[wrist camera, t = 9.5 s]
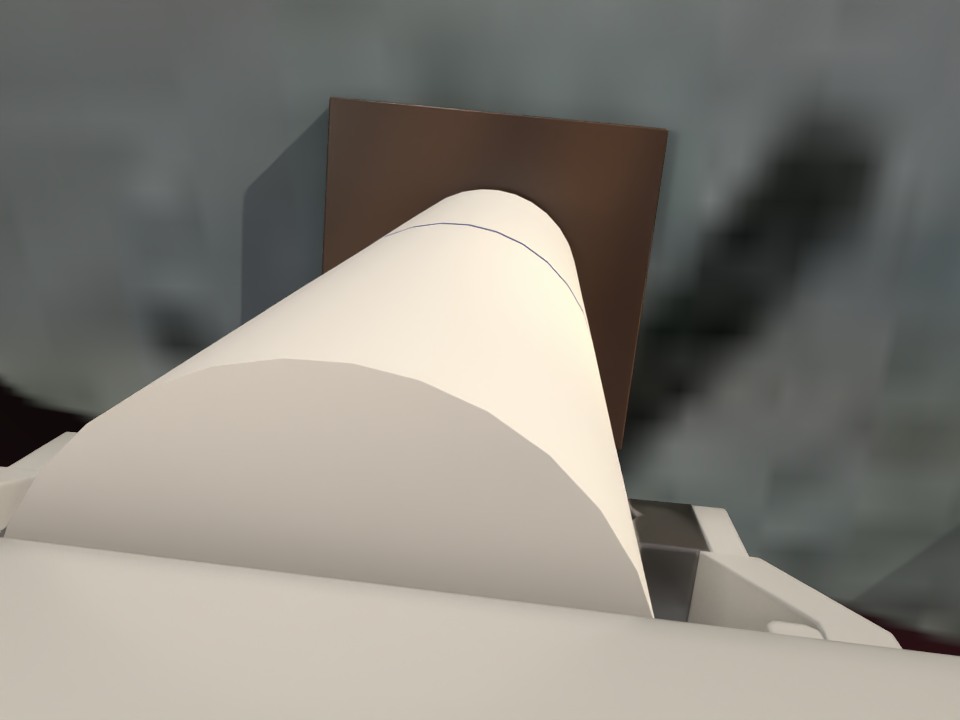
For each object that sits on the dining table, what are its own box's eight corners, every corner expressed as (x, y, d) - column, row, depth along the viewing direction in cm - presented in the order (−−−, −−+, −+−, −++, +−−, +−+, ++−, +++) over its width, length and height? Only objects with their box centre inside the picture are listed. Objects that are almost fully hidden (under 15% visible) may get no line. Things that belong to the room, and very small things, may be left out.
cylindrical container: (591, 204, 32) (734, 425, 8) (559, 382, 34) (593, 1007, 10) (406, 175, 32) (-18, 303, 8) (384, 354, 34) (-9, 893, 10)
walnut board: (664, 129, 33) (669, 129, 32) (618, 440, 36) (621, 450, 35) (336, 97, 33) (329, 96, 32) (322, 406, 37) (315, 415, 36)
